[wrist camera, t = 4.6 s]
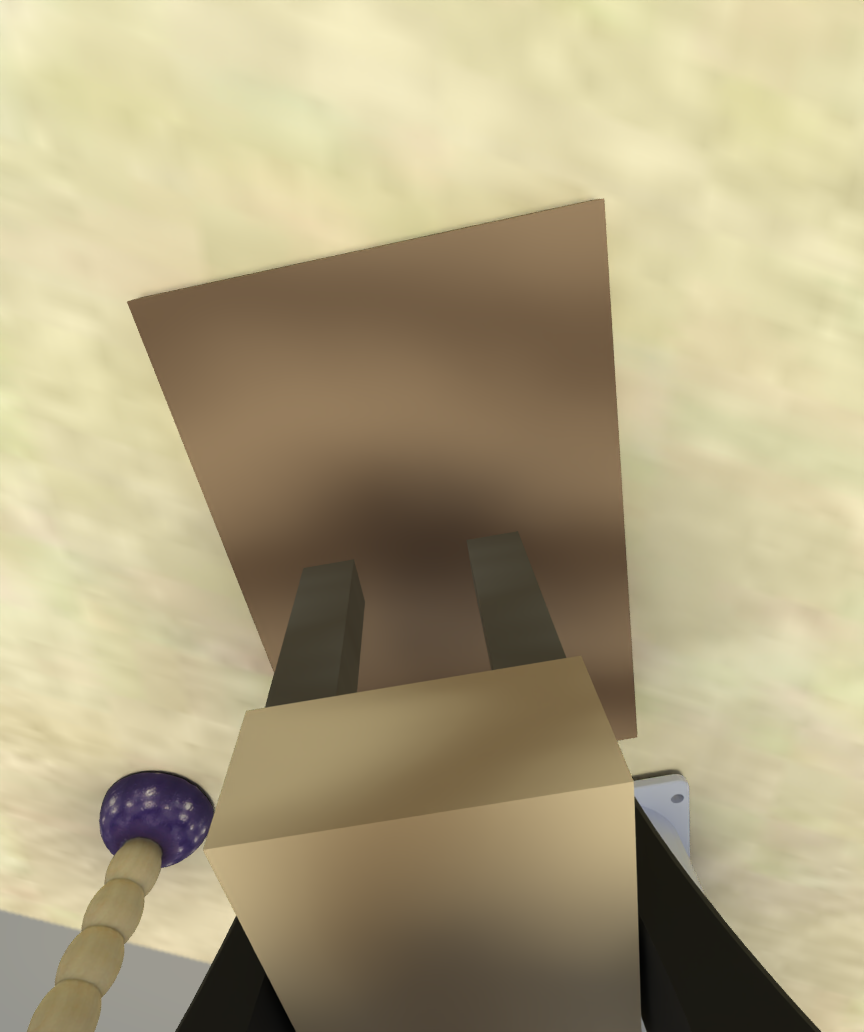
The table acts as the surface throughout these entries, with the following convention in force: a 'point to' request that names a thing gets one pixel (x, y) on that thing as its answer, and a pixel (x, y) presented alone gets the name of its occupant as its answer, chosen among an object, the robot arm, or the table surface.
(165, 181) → the table surface
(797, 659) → the table surface
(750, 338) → the table surface
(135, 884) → the toy lamp
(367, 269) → the walnut board
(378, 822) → the oak stool
